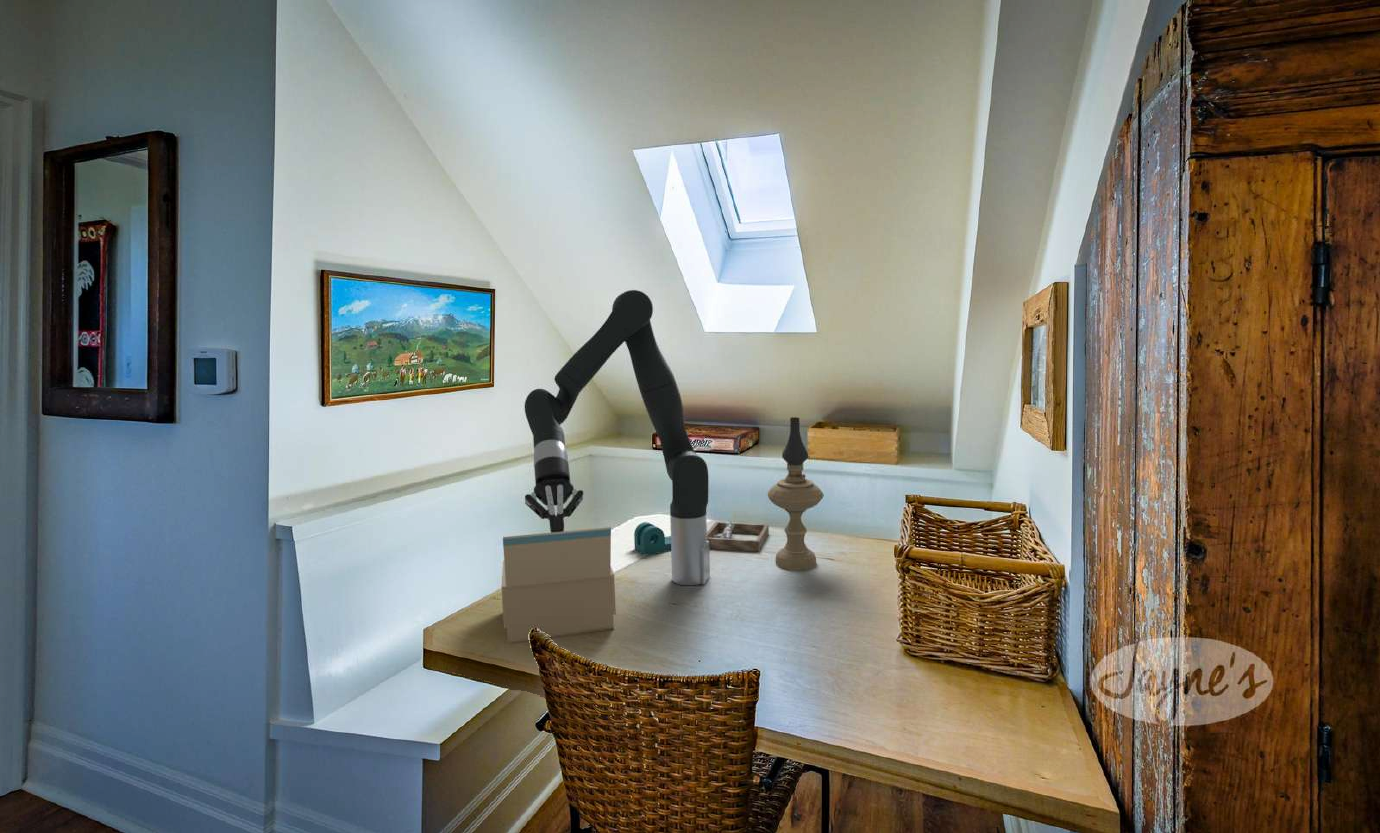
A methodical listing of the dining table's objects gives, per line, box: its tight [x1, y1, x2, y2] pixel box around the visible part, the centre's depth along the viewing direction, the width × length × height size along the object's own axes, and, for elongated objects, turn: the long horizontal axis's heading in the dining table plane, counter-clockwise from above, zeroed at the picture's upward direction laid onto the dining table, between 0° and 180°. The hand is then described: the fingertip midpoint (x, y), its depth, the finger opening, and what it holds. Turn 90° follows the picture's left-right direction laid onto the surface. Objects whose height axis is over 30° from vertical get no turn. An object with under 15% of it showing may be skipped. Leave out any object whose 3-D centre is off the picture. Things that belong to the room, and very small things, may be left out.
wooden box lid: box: [502, 526, 612, 588], centre depth 136 cm, size 12×21×1 cm
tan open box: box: [501, 560, 617, 644], centre depth 149 cm, size 19×23×12 cm
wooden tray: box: [707, 521, 770, 553], centre depth 204 cm, size 17×18×3 cm
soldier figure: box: [713, 521, 734, 539], centre depth 206 cm, size 8×5×12 cm
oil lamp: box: [766, 416, 825, 571], centre depth 180 cm, size 15×15×40 cm
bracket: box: [633, 521, 671, 556], centre depth 199 cm, size 18×7×8 cm, turn 118°
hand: (557, 533), depth 139 cm, fingers closed
